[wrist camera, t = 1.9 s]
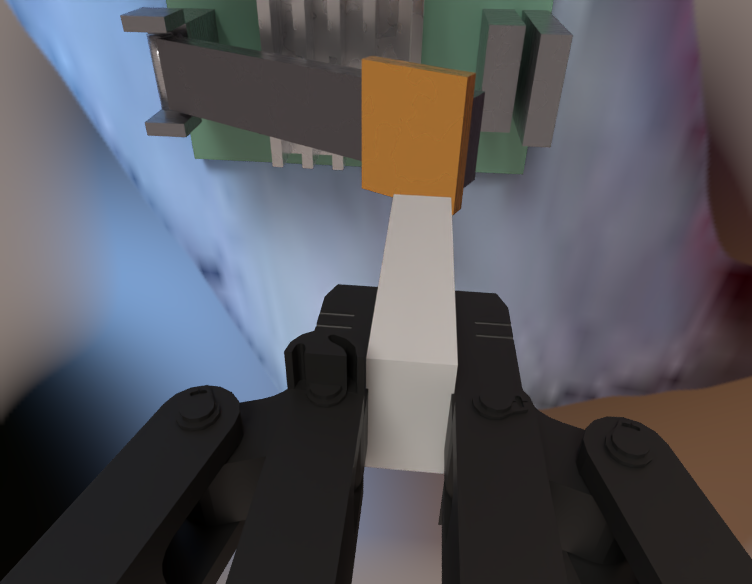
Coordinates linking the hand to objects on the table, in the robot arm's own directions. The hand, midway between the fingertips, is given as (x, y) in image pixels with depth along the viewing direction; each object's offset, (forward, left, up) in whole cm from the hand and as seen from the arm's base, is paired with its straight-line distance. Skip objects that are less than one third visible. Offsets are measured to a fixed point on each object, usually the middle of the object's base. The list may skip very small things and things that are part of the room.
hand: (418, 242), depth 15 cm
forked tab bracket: (+1, -15, -27) cm, 31 cm away
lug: (+1, +5, -27) cm, 27 cm away
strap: (+1, -7, -16) cm, 18 cm away
